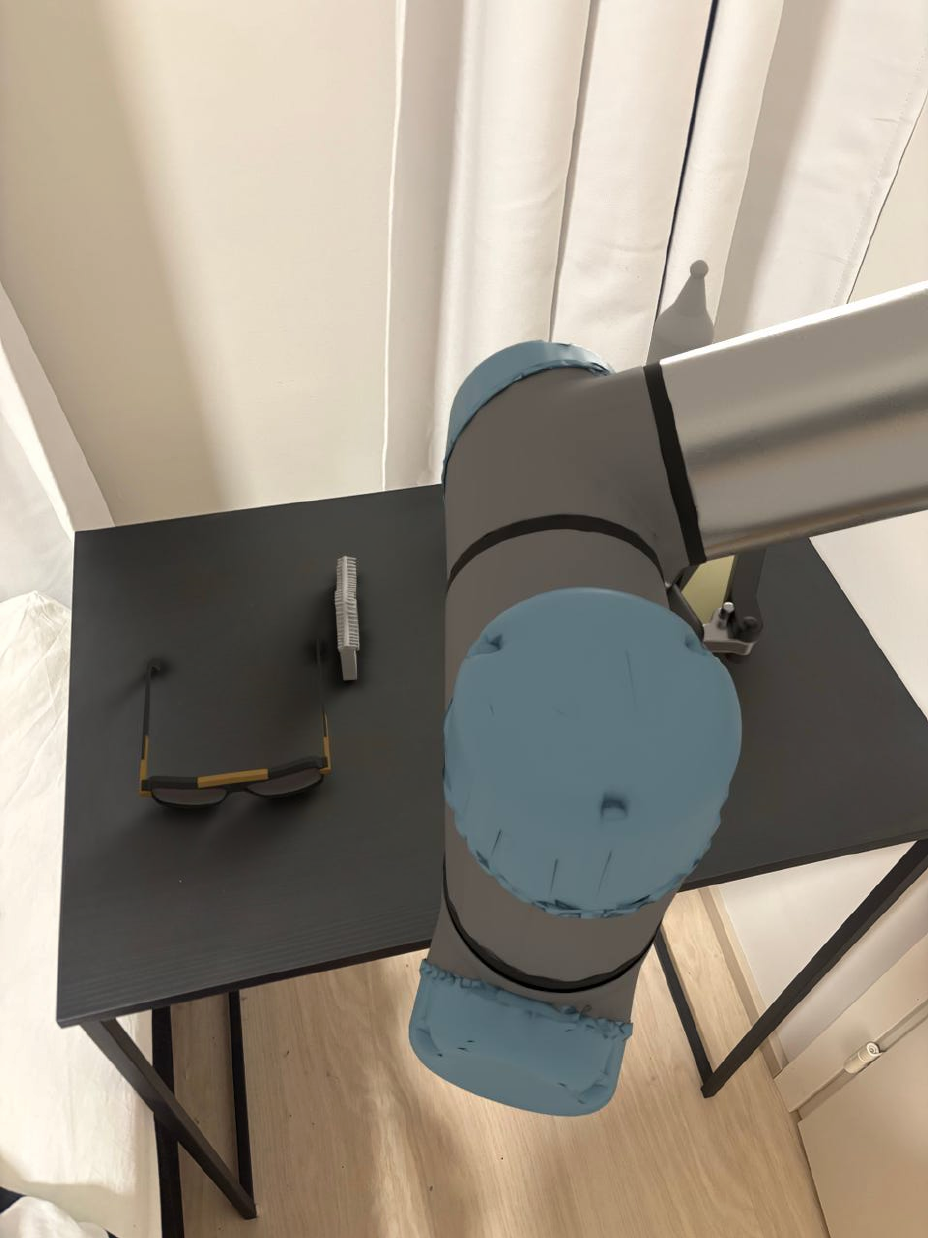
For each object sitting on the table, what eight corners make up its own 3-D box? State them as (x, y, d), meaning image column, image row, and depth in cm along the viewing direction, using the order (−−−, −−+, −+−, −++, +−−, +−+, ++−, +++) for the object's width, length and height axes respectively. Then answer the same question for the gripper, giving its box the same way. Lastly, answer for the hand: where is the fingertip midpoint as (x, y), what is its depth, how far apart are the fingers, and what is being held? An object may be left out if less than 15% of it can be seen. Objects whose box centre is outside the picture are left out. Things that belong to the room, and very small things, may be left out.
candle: (566, 587, 63) (630, 237, 44) (637, 576, 64) (730, 228, 44) (589, 645, 60) (668, 296, 40) (663, 633, 61) (776, 285, 41)
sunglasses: (321, 647, 81) (316, 610, 77) (335, 802, 71) (329, 769, 67) (157, 665, 79) (143, 629, 75) (149, 827, 70) (132, 795, 66)
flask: (752, 563, 88) (721, 716, 78) (591, 522, 91) (541, 664, 81) (780, 495, 81) (751, 654, 71) (604, 452, 84) (551, 599, 74)
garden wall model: (338, 579, 86) (333, 534, 81) (357, 578, 86) (354, 533, 81) (340, 684, 78) (335, 641, 74) (361, 683, 78) (357, 640, 74)
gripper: (387, 713, 45) (504, 424, 59) (783, 817, 42) (807, 487, 56) (381, 615, 39) (513, 321, 53) (841, 728, 36) (850, 385, 50)
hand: (664, 406), depth 55 cm, fingers closed on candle, 6 cm apart
